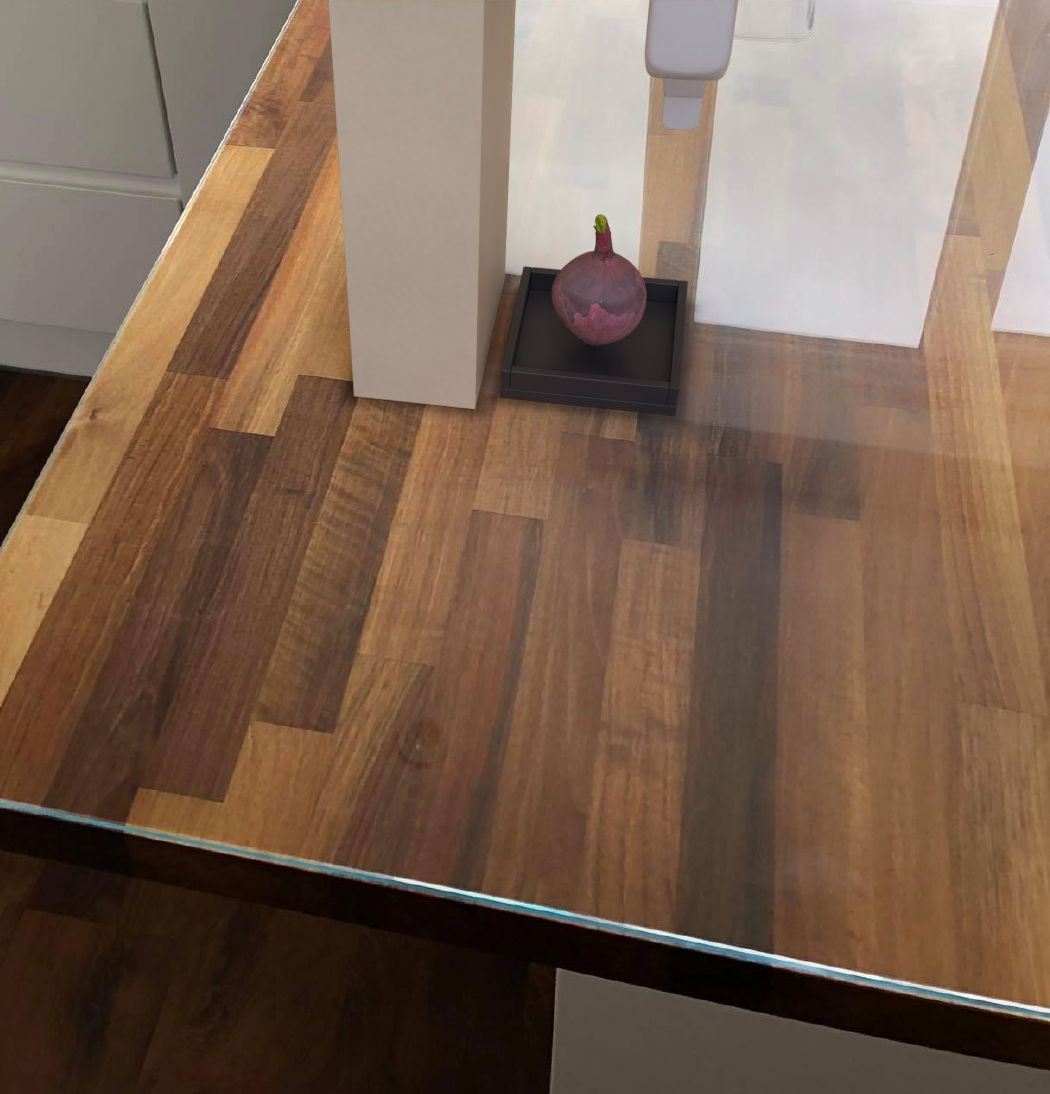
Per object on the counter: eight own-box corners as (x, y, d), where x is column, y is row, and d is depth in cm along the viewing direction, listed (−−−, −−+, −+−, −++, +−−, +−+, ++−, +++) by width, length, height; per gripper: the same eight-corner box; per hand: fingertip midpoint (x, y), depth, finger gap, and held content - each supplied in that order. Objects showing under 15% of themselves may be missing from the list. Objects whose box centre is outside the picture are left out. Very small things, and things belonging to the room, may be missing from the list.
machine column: (512, 275, 98) (532, -172, 76) (481, 415, 88) (494, -51, 66) (388, 263, 99) (372, -178, 77) (344, 400, 89) (311, -61, 67)
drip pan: (683, 307, 95) (688, 280, 93) (674, 416, 87) (679, 388, 86) (521, 292, 97) (523, 265, 95) (499, 397, 89) (501, 370, 88)
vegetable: (584, 302, 94) (595, 175, 87) (660, 338, 91) (678, 210, 84) (530, 346, 91) (537, 218, 84) (606, 385, 88) (621, 256, 81)
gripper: (792, -128, 52) (743, 191, 62) (797, -300, 65) (756, -15, 75) (624, -132, 53) (602, 182, 63) (663, -300, 67) (640, -19, 77)
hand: (686, 73), depth 69 cm, fingers open, 8 cm apart
